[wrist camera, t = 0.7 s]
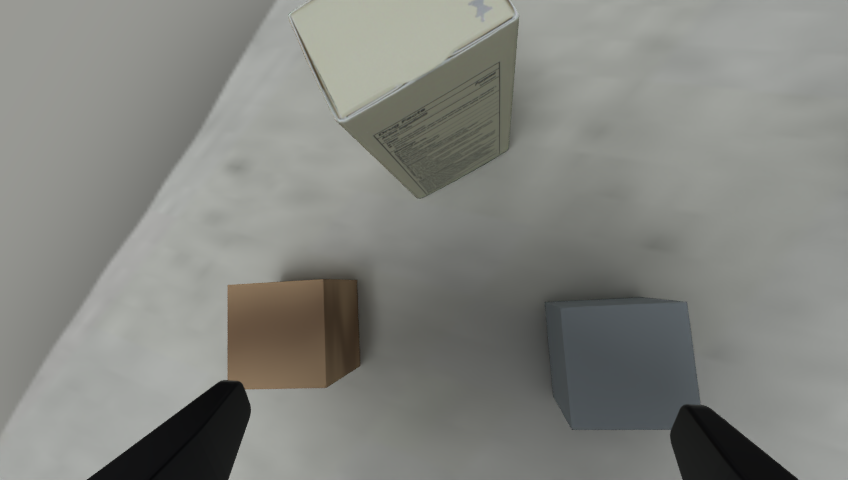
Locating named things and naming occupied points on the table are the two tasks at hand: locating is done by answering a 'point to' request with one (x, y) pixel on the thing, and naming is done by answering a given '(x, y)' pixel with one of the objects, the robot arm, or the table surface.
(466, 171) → the skincare box
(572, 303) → the slate cube
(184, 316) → the table surface
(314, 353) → the walnut cube
